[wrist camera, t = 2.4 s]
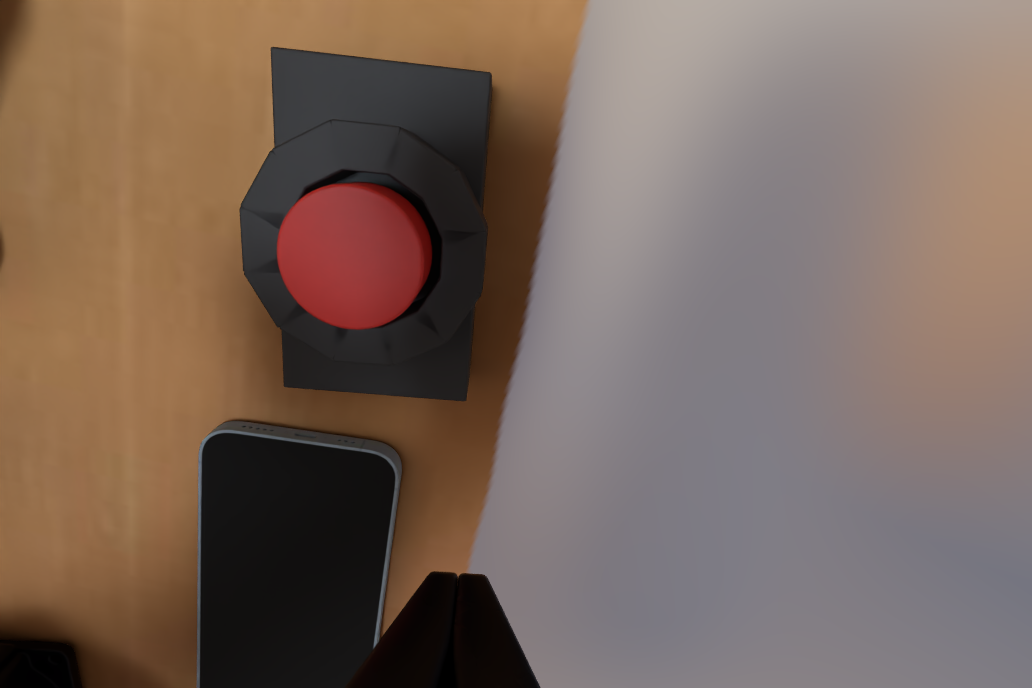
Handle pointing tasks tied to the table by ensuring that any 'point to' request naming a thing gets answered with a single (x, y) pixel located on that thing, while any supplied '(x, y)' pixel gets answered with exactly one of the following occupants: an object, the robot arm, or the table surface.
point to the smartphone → (291, 555)
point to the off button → (354, 254)
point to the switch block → (398, 166)
